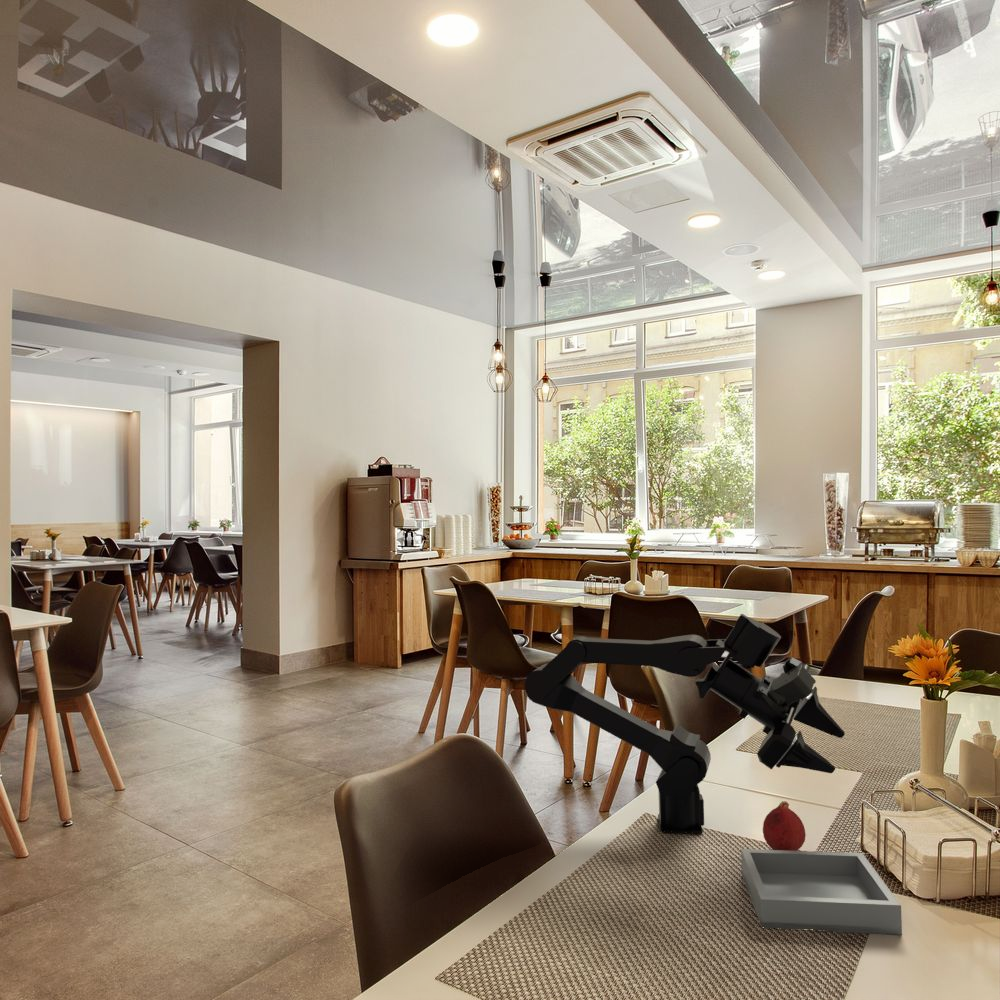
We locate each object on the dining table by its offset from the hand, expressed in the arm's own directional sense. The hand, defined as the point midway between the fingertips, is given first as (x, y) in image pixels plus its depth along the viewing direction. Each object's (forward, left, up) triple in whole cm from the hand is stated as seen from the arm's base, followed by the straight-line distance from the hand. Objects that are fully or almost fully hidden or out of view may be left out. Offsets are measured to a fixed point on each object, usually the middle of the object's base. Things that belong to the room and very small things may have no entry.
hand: (838, 752), depth 116 cm
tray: (-8, -18, -14) cm, 24 cm away
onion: (-9, -5, -14) cm, 17 cm away
